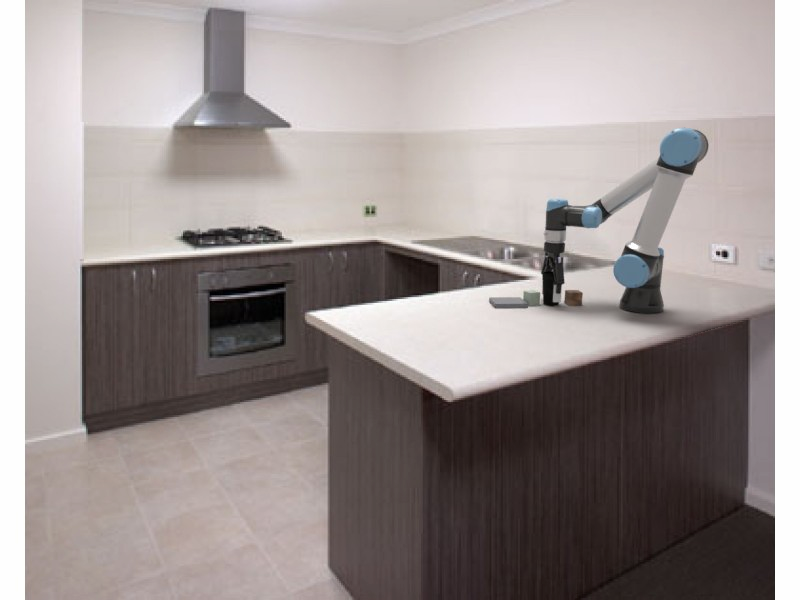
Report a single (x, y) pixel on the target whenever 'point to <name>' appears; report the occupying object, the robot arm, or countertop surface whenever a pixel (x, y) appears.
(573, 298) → the walnut block
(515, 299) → the plate
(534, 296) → the sage block
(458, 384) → the countertop surface
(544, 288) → the cup
